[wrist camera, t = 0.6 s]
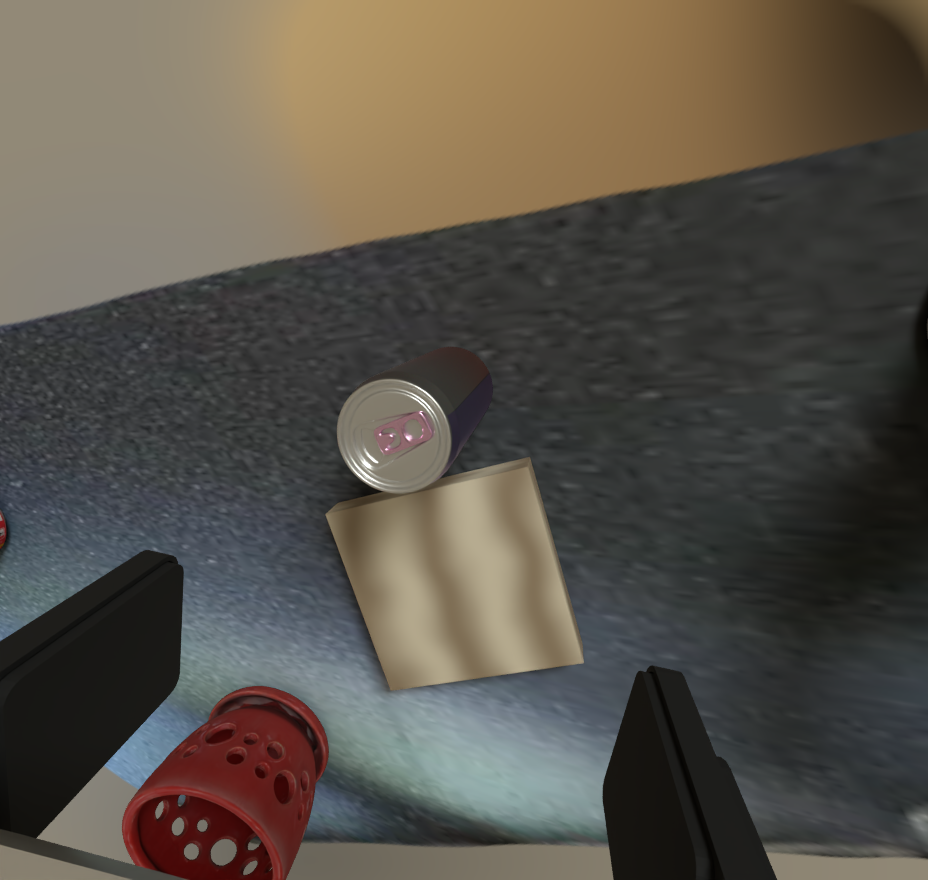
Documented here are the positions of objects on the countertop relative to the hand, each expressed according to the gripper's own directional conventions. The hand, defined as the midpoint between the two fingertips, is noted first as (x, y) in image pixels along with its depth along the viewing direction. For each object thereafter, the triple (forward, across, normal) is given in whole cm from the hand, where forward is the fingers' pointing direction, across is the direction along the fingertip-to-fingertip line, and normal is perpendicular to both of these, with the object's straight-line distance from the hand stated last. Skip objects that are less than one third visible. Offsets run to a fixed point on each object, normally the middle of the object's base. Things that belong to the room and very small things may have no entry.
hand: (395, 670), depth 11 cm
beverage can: (+30, +3, 0) cm, 30 cm away
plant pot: (+31, +14, +35) cm, 49 cm away
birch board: (+30, 0, +14) cm, 33 cm away
